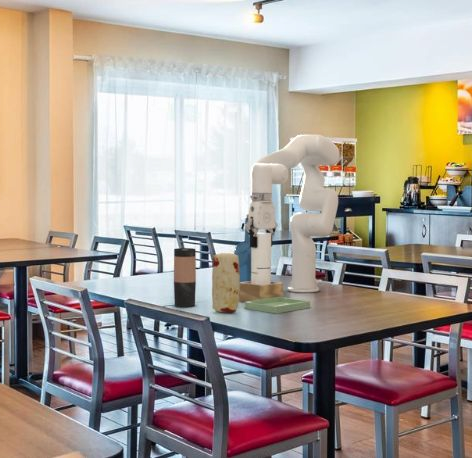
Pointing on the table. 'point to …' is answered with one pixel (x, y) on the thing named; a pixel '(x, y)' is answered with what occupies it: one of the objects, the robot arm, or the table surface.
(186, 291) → the travel mug
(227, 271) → the food model
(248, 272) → the wine bottle
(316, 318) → the table surface
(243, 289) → the crate
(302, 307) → the tray
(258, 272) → the cylindrical container
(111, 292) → the table surface
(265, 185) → the robot arm
